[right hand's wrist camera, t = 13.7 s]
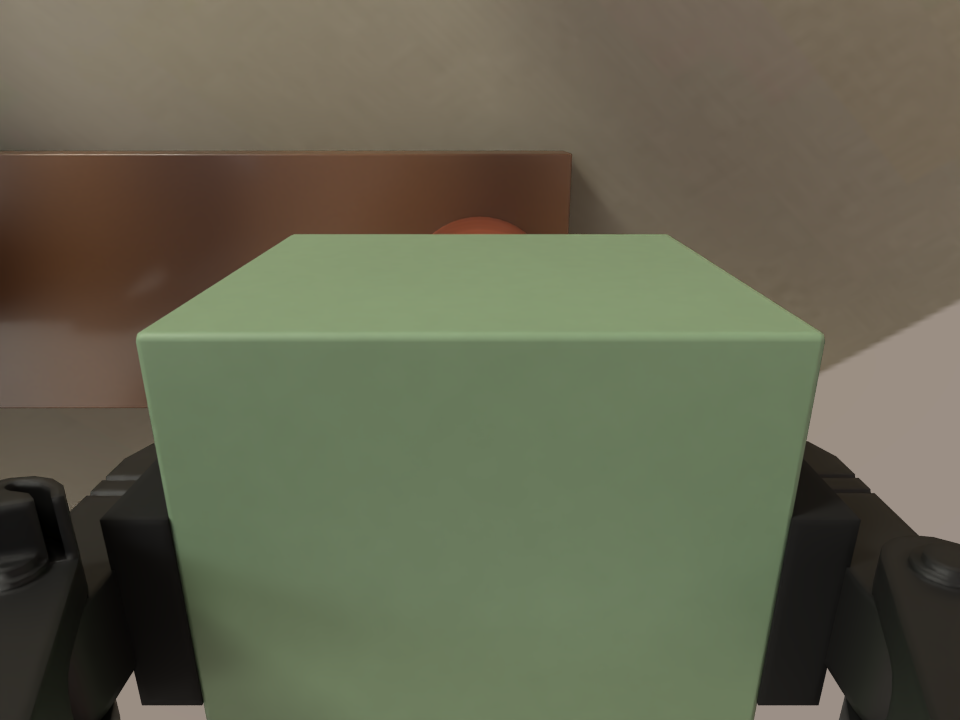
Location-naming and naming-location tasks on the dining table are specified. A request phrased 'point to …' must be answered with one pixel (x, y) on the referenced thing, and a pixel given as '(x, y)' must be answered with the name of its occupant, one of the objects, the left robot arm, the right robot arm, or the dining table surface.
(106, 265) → the stand
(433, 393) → the sage green cube
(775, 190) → the dining table surface
